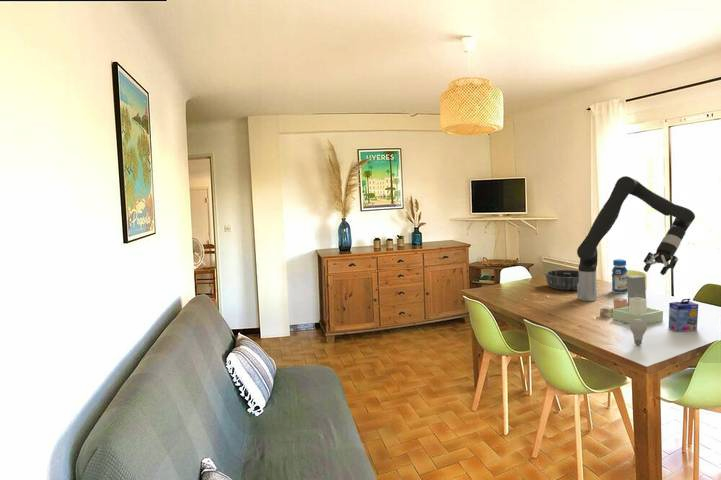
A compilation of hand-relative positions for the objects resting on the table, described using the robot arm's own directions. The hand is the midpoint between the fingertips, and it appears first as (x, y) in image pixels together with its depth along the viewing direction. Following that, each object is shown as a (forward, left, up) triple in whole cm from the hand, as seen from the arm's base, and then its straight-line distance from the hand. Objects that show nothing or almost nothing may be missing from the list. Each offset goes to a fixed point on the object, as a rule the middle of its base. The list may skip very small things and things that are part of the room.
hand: (653, 272), depth 213 cm
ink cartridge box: (+21, -11, -22) cm, 32 cm away
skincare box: (-18, +12, -22) cm, 31 cm away
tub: (+2, -14, -22) cm, 26 cm away
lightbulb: (+25, -45, -22) cm, 56 cm away
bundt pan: (-68, +15, -22) cm, 73 cm away
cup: (+2, -14, -21) cm, 25 cm away
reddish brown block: (-11, -9, -22) cm, 26 cm away
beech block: (-10, -20, -22) cm, 31 cm away
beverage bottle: (-42, +30, -22) cm, 56 cm away
